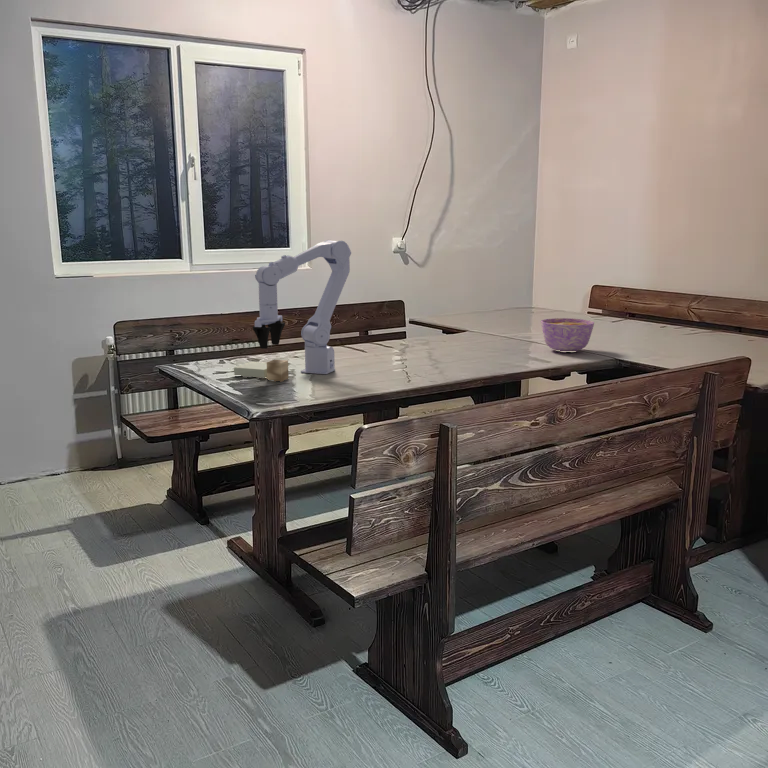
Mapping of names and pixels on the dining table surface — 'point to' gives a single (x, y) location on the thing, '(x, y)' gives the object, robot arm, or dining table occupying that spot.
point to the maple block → (277, 370)
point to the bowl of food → (567, 333)
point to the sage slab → (252, 369)
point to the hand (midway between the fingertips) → (269, 346)
